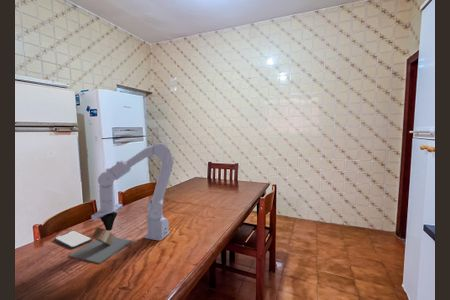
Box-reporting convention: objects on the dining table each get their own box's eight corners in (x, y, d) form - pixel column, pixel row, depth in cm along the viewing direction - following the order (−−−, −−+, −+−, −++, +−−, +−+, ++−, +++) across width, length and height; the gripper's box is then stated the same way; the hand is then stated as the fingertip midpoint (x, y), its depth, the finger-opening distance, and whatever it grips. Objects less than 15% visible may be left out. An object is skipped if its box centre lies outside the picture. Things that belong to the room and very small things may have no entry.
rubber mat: (132, 241, 97) (132, 240, 97) (100, 263, 81) (100, 262, 81) (104, 236, 102) (104, 235, 102) (68, 256, 86) (68, 255, 86)
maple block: (115, 235, 96) (104, 228, 90) (110, 245, 93) (99, 238, 87) (108, 234, 97) (96, 227, 91) (103, 243, 94) (91, 237, 88)
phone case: (93, 241, 98) (74, 233, 106) (93, 238, 98) (74, 229, 106) (72, 251, 91) (53, 241, 98) (72, 247, 90) (52, 237, 98)
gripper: (113, 193, 101) (114, 221, 103) (84, 204, 88) (86, 236, 89) (125, 195, 99) (126, 223, 100) (98, 205, 85) (100, 238, 87)
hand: (108, 229), depth 94 cm, fingers closed
